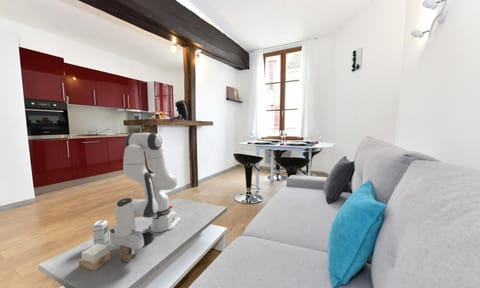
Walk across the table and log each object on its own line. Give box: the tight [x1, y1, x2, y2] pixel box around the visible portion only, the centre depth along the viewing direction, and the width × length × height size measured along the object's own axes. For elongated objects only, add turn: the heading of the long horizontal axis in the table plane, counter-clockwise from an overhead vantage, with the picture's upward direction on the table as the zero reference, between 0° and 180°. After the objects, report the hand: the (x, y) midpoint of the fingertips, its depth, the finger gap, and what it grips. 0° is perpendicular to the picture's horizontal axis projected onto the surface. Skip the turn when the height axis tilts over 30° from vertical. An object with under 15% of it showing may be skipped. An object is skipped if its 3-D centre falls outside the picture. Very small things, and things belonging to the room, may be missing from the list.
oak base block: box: [78, 250, 113, 272], centre depth 102 cm, size 10×10×4 cm
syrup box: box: [91, 219, 110, 246], centre depth 117 cm, size 6×6×14 cm
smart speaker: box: [141, 231, 154, 246], centre depth 121 cm, size 9×9×4 cm
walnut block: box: [119, 246, 136, 263], centre depth 105 cm, size 5×5×8 cm
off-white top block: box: [81, 244, 109, 263], centre depth 102 cm, size 8×8×4 cm
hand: (127, 252), depth 105 cm, fingers closed on walnut block, 5 cm apart
